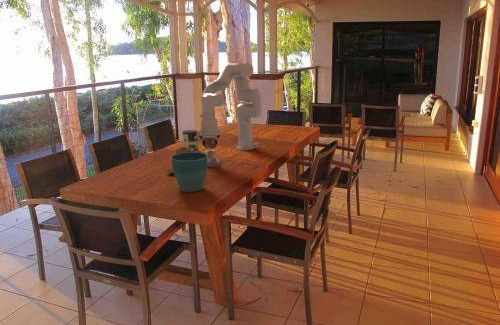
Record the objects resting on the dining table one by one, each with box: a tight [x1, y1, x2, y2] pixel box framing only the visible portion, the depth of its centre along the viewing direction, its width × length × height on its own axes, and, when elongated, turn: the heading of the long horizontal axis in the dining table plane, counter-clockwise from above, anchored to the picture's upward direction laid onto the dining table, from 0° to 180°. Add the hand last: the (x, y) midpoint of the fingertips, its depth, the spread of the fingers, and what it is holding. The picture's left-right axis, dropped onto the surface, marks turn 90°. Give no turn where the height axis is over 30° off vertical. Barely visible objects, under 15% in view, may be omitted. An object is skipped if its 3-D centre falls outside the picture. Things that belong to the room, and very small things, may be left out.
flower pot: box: [170, 151, 208, 193], centre depth 219 cm, size 18×18×17 cm
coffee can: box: [182, 129, 199, 152], centre depth 302 cm, size 10×10×14 cm
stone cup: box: [166, 146, 194, 175], centre depth 248 cm, size 15×12×15 cm
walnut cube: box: [204, 136, 216, 150], centre depth 263 cm, size 6×6×6 cm
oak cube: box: [204, 149, 217, 162], centre depth 265 cm, size 6×6×6 cm
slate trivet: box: [207, 157, 221, 168], centre depth 266 cm, size 10×10×2 cm
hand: (209, 145), depth 264 cm, fingers closed on walnut cube, 6 cm apart
